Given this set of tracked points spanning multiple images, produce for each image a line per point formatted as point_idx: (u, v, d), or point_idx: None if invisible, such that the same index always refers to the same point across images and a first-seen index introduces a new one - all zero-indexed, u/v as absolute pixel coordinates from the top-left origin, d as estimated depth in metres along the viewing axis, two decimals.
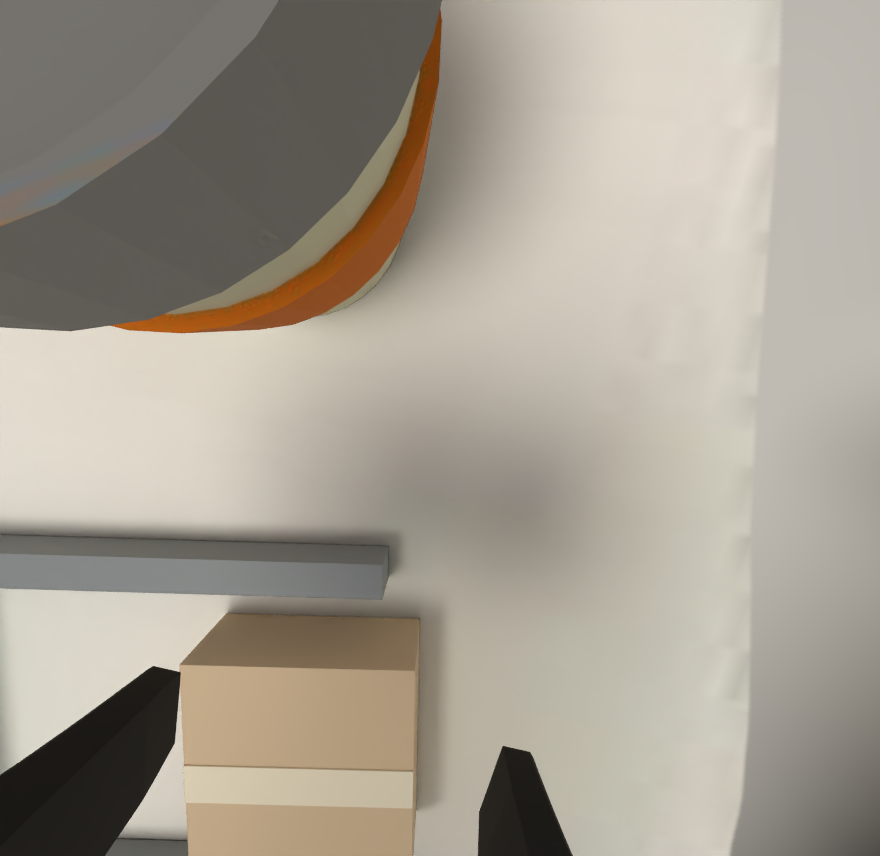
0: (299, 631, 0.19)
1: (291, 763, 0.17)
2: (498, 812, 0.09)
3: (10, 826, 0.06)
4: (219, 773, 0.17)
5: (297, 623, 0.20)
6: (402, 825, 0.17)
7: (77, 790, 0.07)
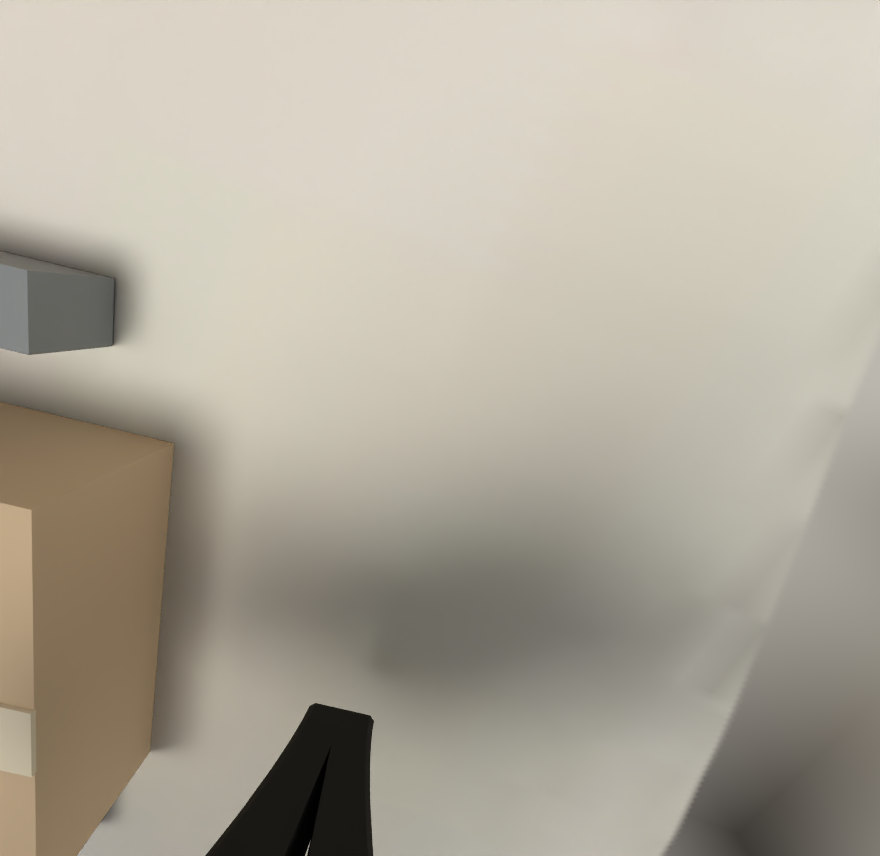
0: None
1: None
2: (325, 773, 0.09)
3: None
4: None
5: None
6: (17, 799, 0.09)
7: (295, 839, 0.07)
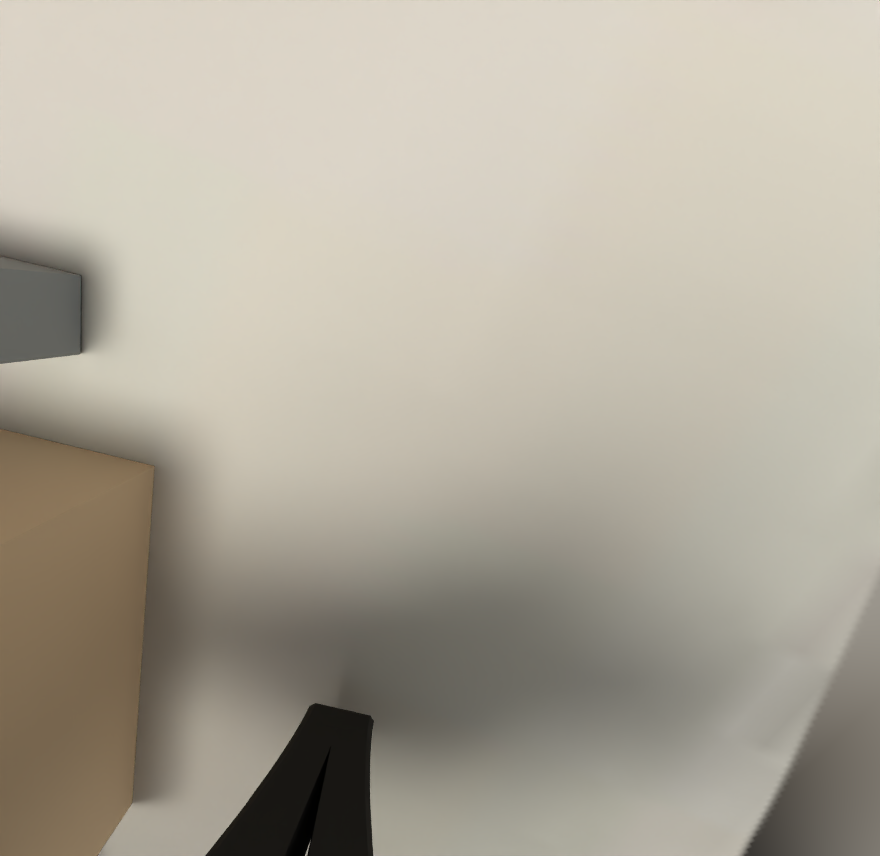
0: None
1: None
2: (325, 773, 0.09)
3: None
4: None
5: None
6: None
7: (295, 839, 0.07)
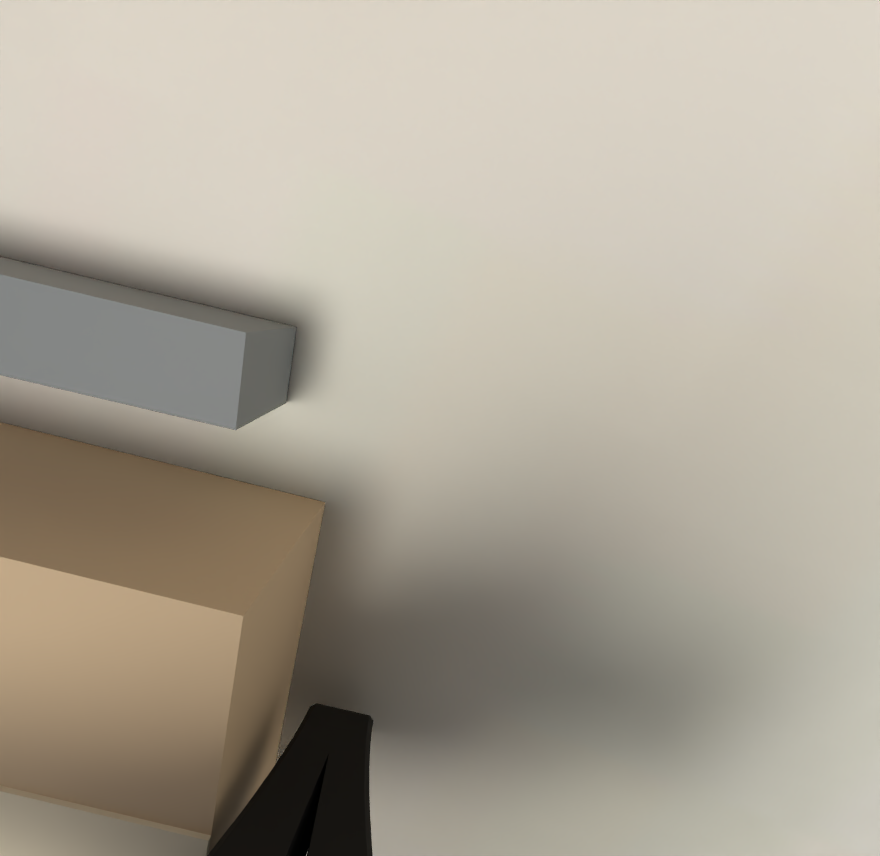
0: (29, 460, 0.08)
1: None
2: None
3: None
4: None
5: (47, 446, 0.09)
6: None
7: (296, 839, 0.07)
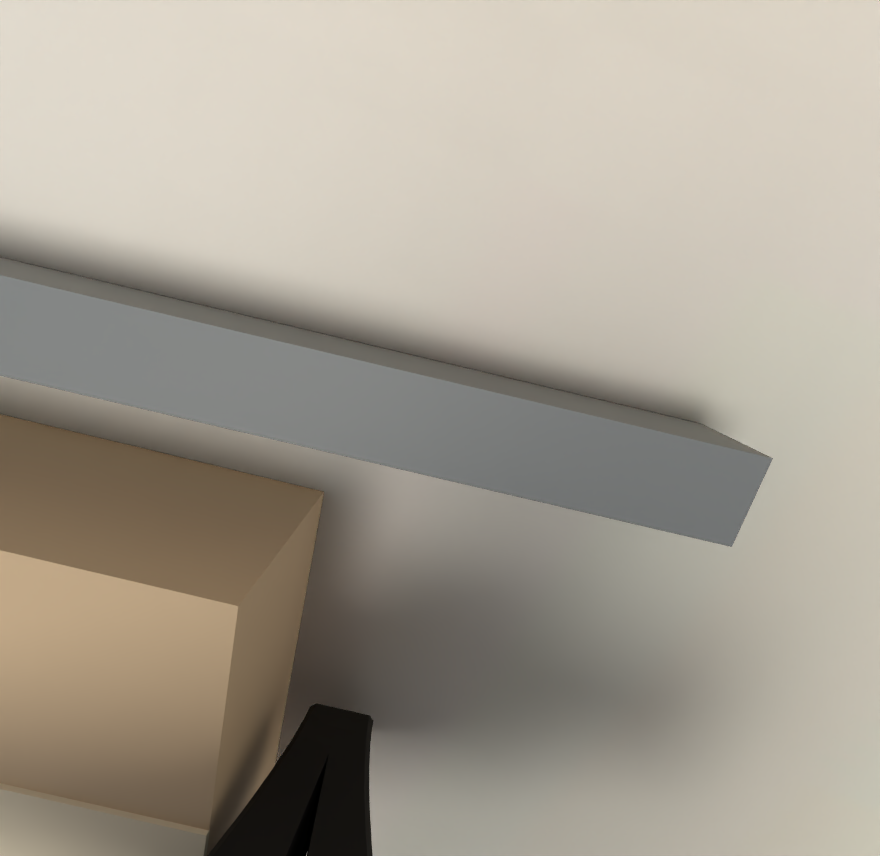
0: (20, 452, 0.08)
1: None
2: None
3: None
4: None
5: (39, 438, 0.08)
6: None
7: (296, 839, 0.07)
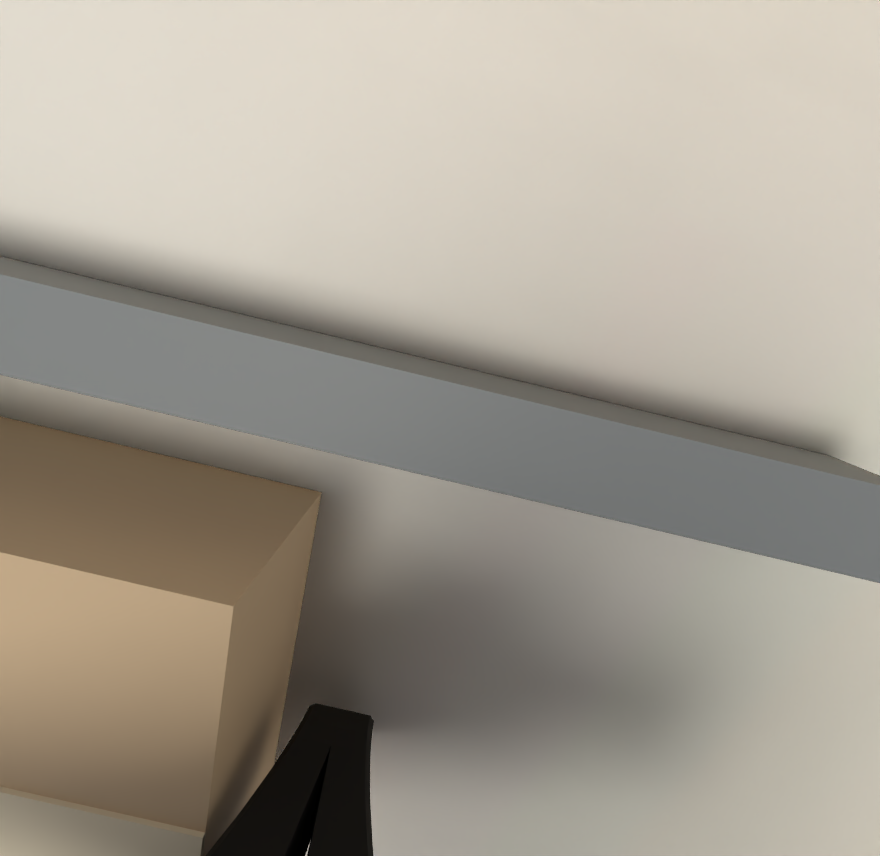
0: (17, 453, 0.08)
1: None
2: (325, 773, 0.09)
3: None
4: None
5: (35, 440, 0.08)
6: None
7: (295, 838, 0.07)
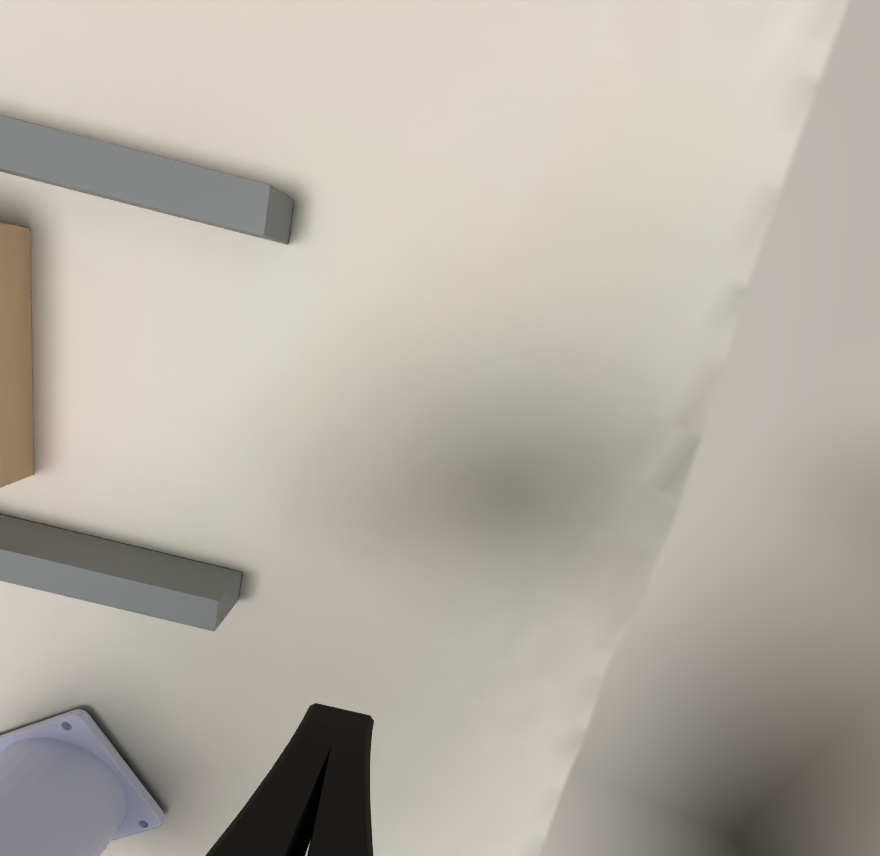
0: None
1: None
2: (325, 773, 0.09)
3: None
4: None
5: None
6: None
7: (295, 839, 0.07)
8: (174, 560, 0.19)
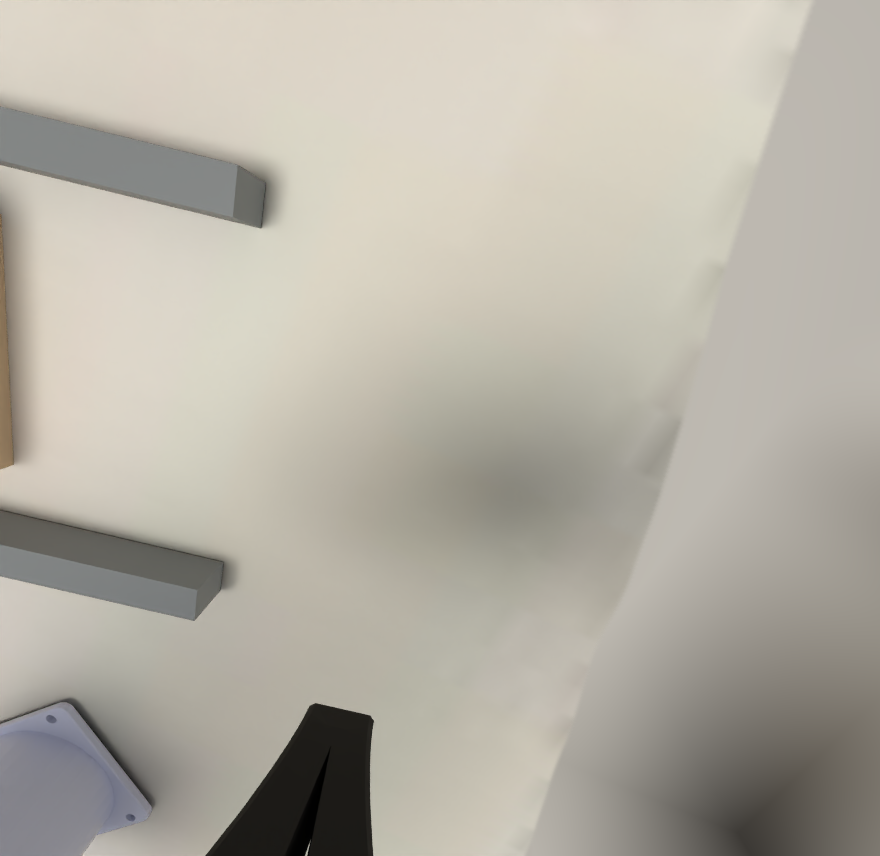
0: None
1: None
2: (325, 773, 0.09)
3: None
4: None
5: None
6: None
7: (295, 839, 0.07)
8: (155, 550, 0.19)
